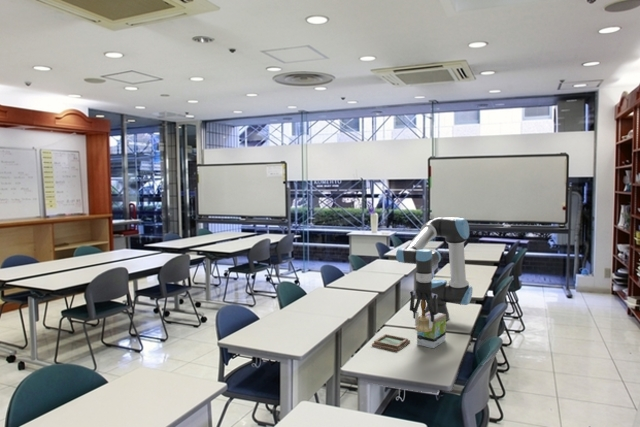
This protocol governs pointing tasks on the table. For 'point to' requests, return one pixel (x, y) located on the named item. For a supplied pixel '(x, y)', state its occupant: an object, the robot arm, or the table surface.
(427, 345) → the tea box
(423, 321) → the hand bell
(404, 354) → the table surface
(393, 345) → the stand
